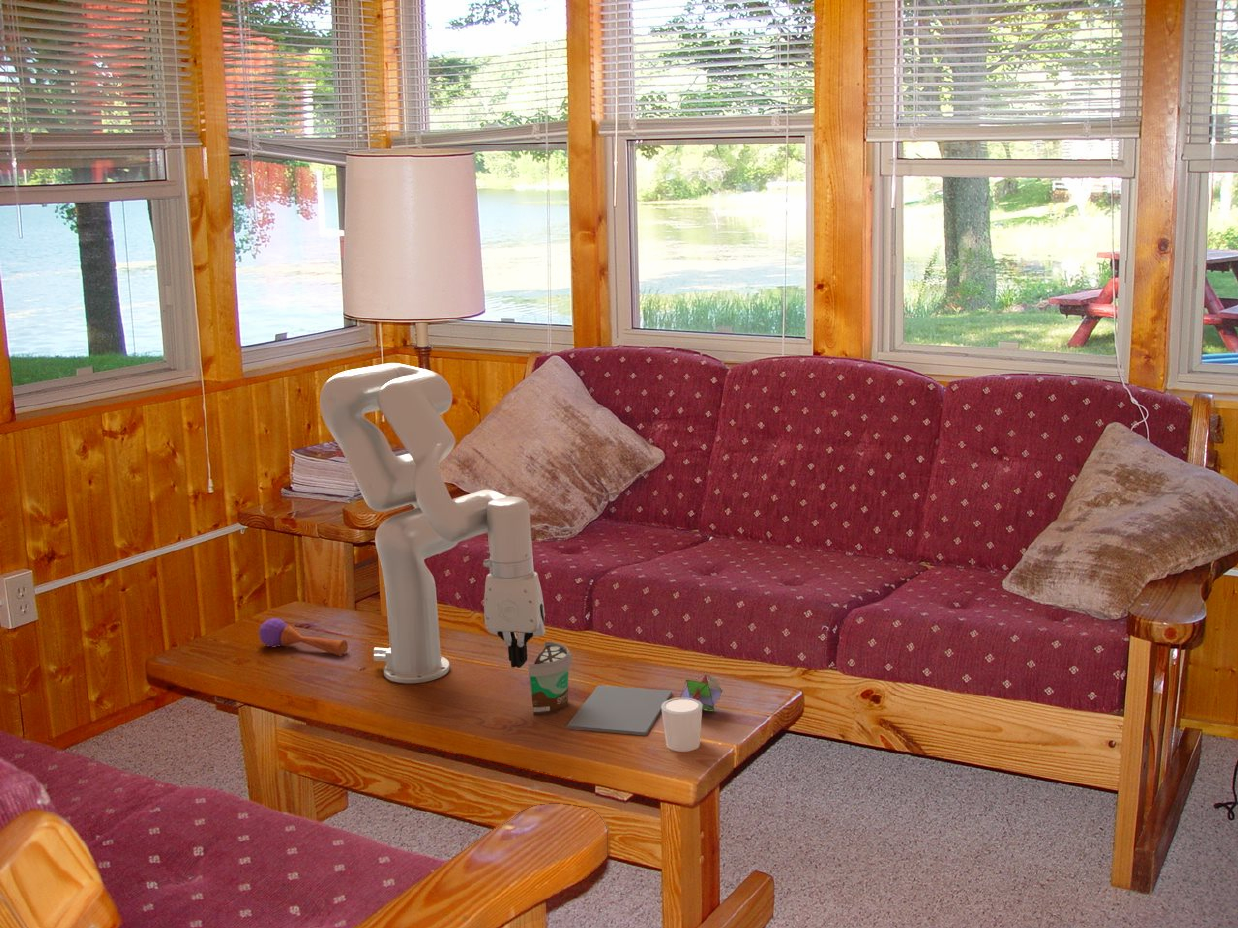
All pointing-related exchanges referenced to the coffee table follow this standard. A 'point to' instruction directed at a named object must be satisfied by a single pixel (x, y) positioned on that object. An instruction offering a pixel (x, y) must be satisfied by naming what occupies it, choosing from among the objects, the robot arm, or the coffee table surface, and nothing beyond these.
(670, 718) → the shot glass
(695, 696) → the geometric puzzle
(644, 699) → the mat
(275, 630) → the kendama
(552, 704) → the food container
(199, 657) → the coffee table surface
